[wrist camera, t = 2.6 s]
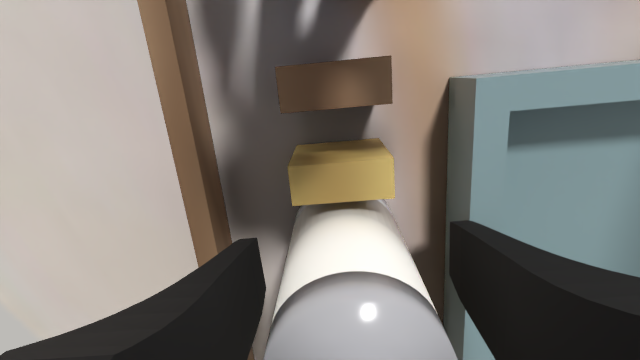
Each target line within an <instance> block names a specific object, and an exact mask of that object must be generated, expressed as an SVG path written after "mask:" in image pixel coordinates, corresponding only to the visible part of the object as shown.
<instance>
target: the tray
mask: <svg viewBox="0 0 640 360" xmlns="http://www.w3.org/2000/svg"><path fill="white" fill-rule="evenodd" d="M463 220H468V221H474V222H476V223H479V224H482V225H484V226H486V227H489V228H491V229H493V230H496V231H498V232H500V233H503V234H505V235H507V236H510V237H512V238H514V239H517V240H519V241H522V242H524V243H527V244H529V245H532V246H534V247H537V248H540V249H542V250H545V251H548V252H550V253H553V254H556V255H559V256H562V257H565V258H568V259H571V260H575V261H578V262H581V263H585V264H588V265H591V266H595V267H599V268H602V269H606V270H610V271H614V272H619V273H623V274H627V275H632V276H636V277H640V60H631V61H620V62H609V63H598V64H588V65H577V66H566V67H556V68H545V69H534V70H523V71H513V72H502V73H491V74H481V75H470V76H459V77H450V79H449V119H448V159H447V199H446V240H445V280H444V320H443V327H444V329H445V332H446V334H447V336H448V338H449V341H450V343H451V345H452V347H453V349H454V352H455V354H456V357H457V359H458V360H495V358H494V356H493V355H492V353H491V351H490V350H489V348H488V346H487V345H486V343H485V341H484V340H483V338H482V336H481V335H480V333H479V331H478V330H477V328H476V326H475V325H474V323H473V321H472V320H471V318H470V316H469V315H468V313H467V311H466V309H465V308H464V306H463V304H462V303H461V301H460V299H459V297H458V294H457V292H456V290H455V287H454V285H453V282H452V280H451V277H450V275H449V251H450V222H451V221H463Z"/></svg>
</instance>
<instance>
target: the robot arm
mask: <svg viewBox="0 0 640 360" xmlns="http://www.w3.org/2000/svg"><path fill="white" fill-rule="evenodd" d="M449 275H450V277H451V280H452V282H453V285H454V287H455V290H456V292H457V294H458V297H459V299H460V301H461V303H462V304H463V306H464V308H465V309H466V311H467V313H468V315H469V316H470V318H471V320H472V321H473V323H474V325H475V326H476V328H477V330H478V331H479V333H480V335H481V336H482V338H483V340H484V341H485V343H486V345H487V346H488V348H489V350H490V351H491V353H492V355H493V356H494V358H495V360H640V277H636V276H632V275H627V274H623V273H619V272H614V271H610V270H606V269H602V268H599V267H595V266H591V265H588V264H585V263H581V262H578V261H575V260H571V259H568V258H565V257H562V256H559V255H556V254H553V253H550V252H548V251H545V250H542V249H540V248H537V247H534V246H532V245H529V244H527V243H524V242H522V241H519V240H517V239H514V238H512V237H510V236H507V235H505V234H503V233H500V232H498V231H496V230H493V229H491V228H489V227H486V226H484V225H482V224H479V223H476V222H474V221H468V220H463V221H451V222H450V251H449ZM265 292H266V285H265V279H264V274H263V268H262V263H261V257H260V252H259V247H258V241H257V238H249V239H240V240H238V241H236V242H234V243H233V244H231V245H230V246H228V247H227V248H226V249H224V250H223V251H221V252H220V253H219V254H217V255H216V256H215V257H213V258H212V259H210V260H209V261H208V262H206V263H205V264H203V265H202V266H201V267H199V268H198V269H196V270H195V271H193V272H192V273H190V274H189V275H187V276H186V277H184V278H182V279H181V280H179V281H178V282H176V283H175V284H173V285H171V286H170V287H168V288H166V289H164V290H163V291H161V292H159V293H157V294H155V295H153V296H152V297H150V298H148V299H146V300H144V301H142V302H140V303H137V304H135V305H133V306H131V307H129V308H127V309H124V310H122V311H120V312H118V313H116V314H114V315H111V316H109V317H107V318H104V319H102V320H99V321H97V322H94V323H92V324H89V325H86V326H84V327H81V328H78V329H75V330H73V331H70V332H67V333H64V334H61V335H58V336H55V337H52V338H49V339H45V340H42V341H39V342H36V343H32V344H29V345H26V346H23V347H19V348H16V349H13V350H9V351H6V352H4V353H3V354H2V355H0V360H247V359H248V356H249V353H250V350H251V347H252V343H253V340H254V337H255V334H256V331H257V328H258V324H259V321H260V318H261V315H262V310H263V304H264V298H265Z"/></svg>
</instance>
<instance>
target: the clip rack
mask: <svg viewBox="0 0 640 360" xmlns="http://www.w3.org/2000/svg"><path fill="white" fill-rule="evenodd" d="M137 2H138V6H139V10H140V15H141V19H142V23H143V28H144V32H145V36H146V41H147V45H148V49H149V54H150V58H151V62H152V67H153V71H154V75H155V80H156V84H157V89H158V93H159V97H160V102H161V106H162V110H163V115H164V119H165V123H166V128H167V132H168V136H169V141H170V145H171V149H172V154H173V158H174V162H175V167H176V171H177V175H178V180H179V184H180V188H181V193H182V197H183V201H184V206H185V210H186V214H187V219H188V223H189V227H190V232H191V236H192V240H193V245H194V249H195V254H196V258H197V262H198V267H201V266H202V265H203V264H205V263H206V262H208V261H209V260H210V259H212V258H213V257H215V256H216V255H217V254H219V253H220V252H221V251H223V250H224V249H226V248H227V247H228V246H230V245H231V244H232V240H231V235H230V230H229V225H228V219H227V214H226V209H225V204H224V198H223V193H222V188H221V183H220V177H219V172H218V167H217V162H216V156H215V151H214V146H213V141H212V136H211V130H210V125H209V120H208V115H207V109H206V104H205V99H204V94H203V88H202V83H201V78H200V73H199V67H198V62H197V57H196V52H195V46H194V41H193V36H192V31H191V26H190V20H189V15H188V10H187V5H186V0H137ZM275 72H276V80H277V88H278V96H279V104H280V112H281V114H282V113H293V112H304V111H315V110H326V109H337V108H348V107H359V106H370V105H381V104H392V67H391V56H382V57H371V58H361V59H351V60H341V61H330V62H320V63H310V64H300V65H289V66H279V67H275ZM287 168H288V176H289V184H290V192H291V200H292V206H300V205H313V204H326V203H339V202H352V201H366V200H379V199H392V198H395V186H394V158H393V156H392V155H391V154H390V153H389V151H388V150H387V149H386V147H385V146H384V145H383V143H382V142H381V141H380V139H379V138H375V139H363V140H351V141H340V142H328V143H316V144H304V145H297V146H296V148H295V151H294V153H293V155H292V157H291V160H290V162H289V164H288V167H287ZM247 360H254V356H253V350H252V347H251V350H250V353H249V356H248V359H247Z"/></svg>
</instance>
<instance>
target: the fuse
mask: <svg viewBox="0 0 640 360" xmlns="http://www.w3.org/2000/svg"><path fill="white" fill-rule="evenodd" d="M263 360H458V359H457V357H456V354H455V352H454V349H453V347H452V345H451V343H450V341H449V338H448V336H447V334H446V332H445V329H444V327H443V325H442V323H441V321H440V318H439V316H438V314H437V312H436V310H435V307H434V305H433V303H432V301H431V298H430V296H429V294H428V292H427V290H426V287H425V285H424V283H423V281H422V278H421V276H420V274H419V272H418V270H417V267H416V265H415V263H414V261H413V258H412V256H411V254H410V252H409V250H408V247H407V245H406V243H405V241H404V239H403V236H402V234H401V232H400V230H399V227H398V225H397V223H396V221H395V219H394V216H393V214H392V212H391V210H390V208H389V206H388V204H387V203H386V202H385V200H384V199H379V200H366V201H352V202H339V203H326V204H313V205H301V207H300V208H299V210H298V213H297V215H296V219H295V223H294V228H293V232H292V237H291V241H290V245H289V250H288V254H287V258H286V263H285V267H284V272H283V276H282V280H281V285H280V289H279V294H278V298H277V302H276V307H275V311H274V315H273V320H272V324H271V329H270V333H269V337H268V342H267V346H266V350H265V355H264V359H263Z"/></svg>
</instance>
